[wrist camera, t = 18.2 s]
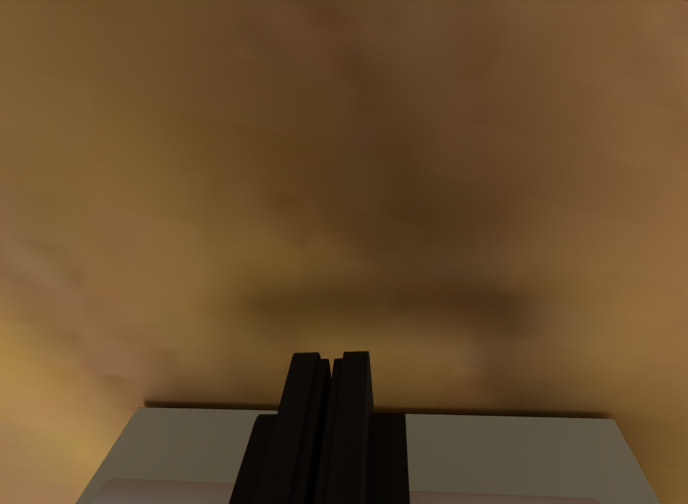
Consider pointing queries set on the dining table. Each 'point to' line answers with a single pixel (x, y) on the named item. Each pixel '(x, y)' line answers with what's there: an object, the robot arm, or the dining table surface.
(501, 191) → the dining table surface
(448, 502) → the drawer
